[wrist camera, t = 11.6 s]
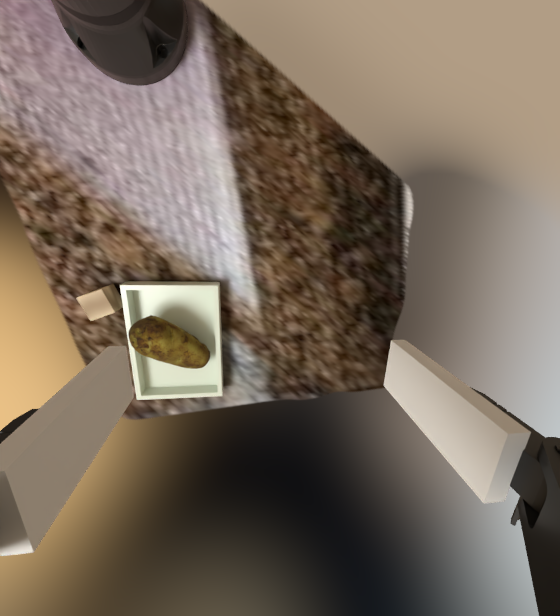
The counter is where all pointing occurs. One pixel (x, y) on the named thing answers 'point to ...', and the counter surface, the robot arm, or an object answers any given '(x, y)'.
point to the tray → (187, 315)
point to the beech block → (101, 302)
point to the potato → (168, 343)
